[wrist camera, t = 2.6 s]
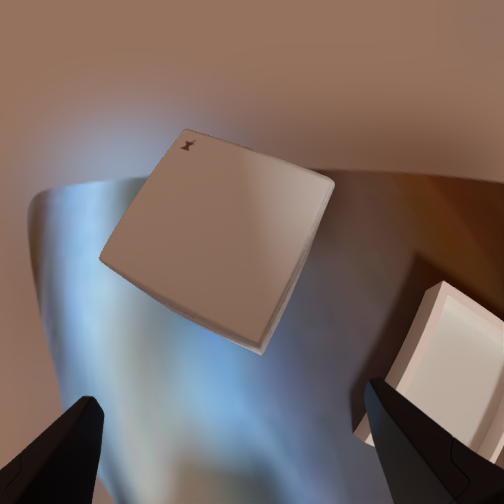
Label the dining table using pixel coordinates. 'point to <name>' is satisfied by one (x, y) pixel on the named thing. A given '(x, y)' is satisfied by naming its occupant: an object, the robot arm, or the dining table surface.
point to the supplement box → (220, 235)
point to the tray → (453, 370)
